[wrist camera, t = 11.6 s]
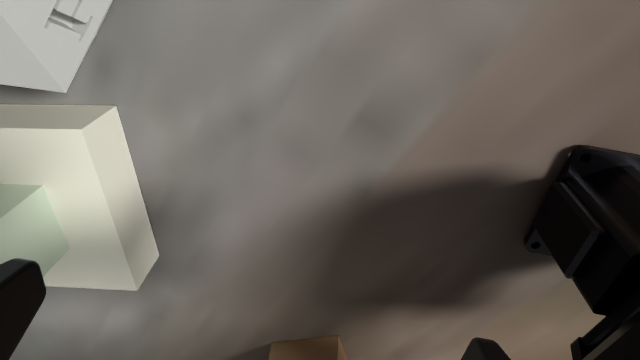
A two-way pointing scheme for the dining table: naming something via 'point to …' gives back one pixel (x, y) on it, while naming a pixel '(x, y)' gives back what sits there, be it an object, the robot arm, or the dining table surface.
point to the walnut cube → (309, 349)
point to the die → (46, 40)
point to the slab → (82, 190)
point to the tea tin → (29, 226)
